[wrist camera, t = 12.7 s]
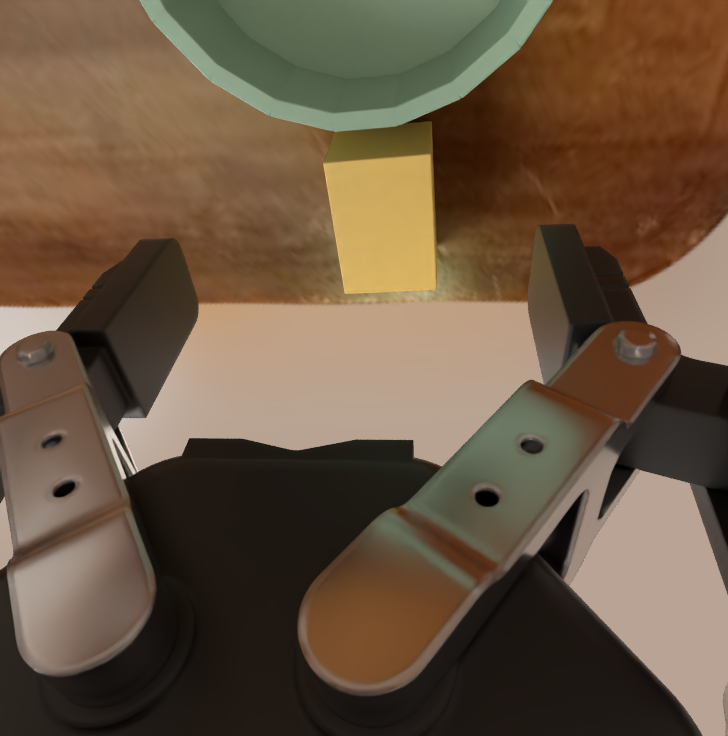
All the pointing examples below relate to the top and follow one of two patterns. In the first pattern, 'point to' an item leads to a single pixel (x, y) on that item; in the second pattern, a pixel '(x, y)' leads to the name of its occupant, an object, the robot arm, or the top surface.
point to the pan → (347, 53)
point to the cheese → (384, 207)
